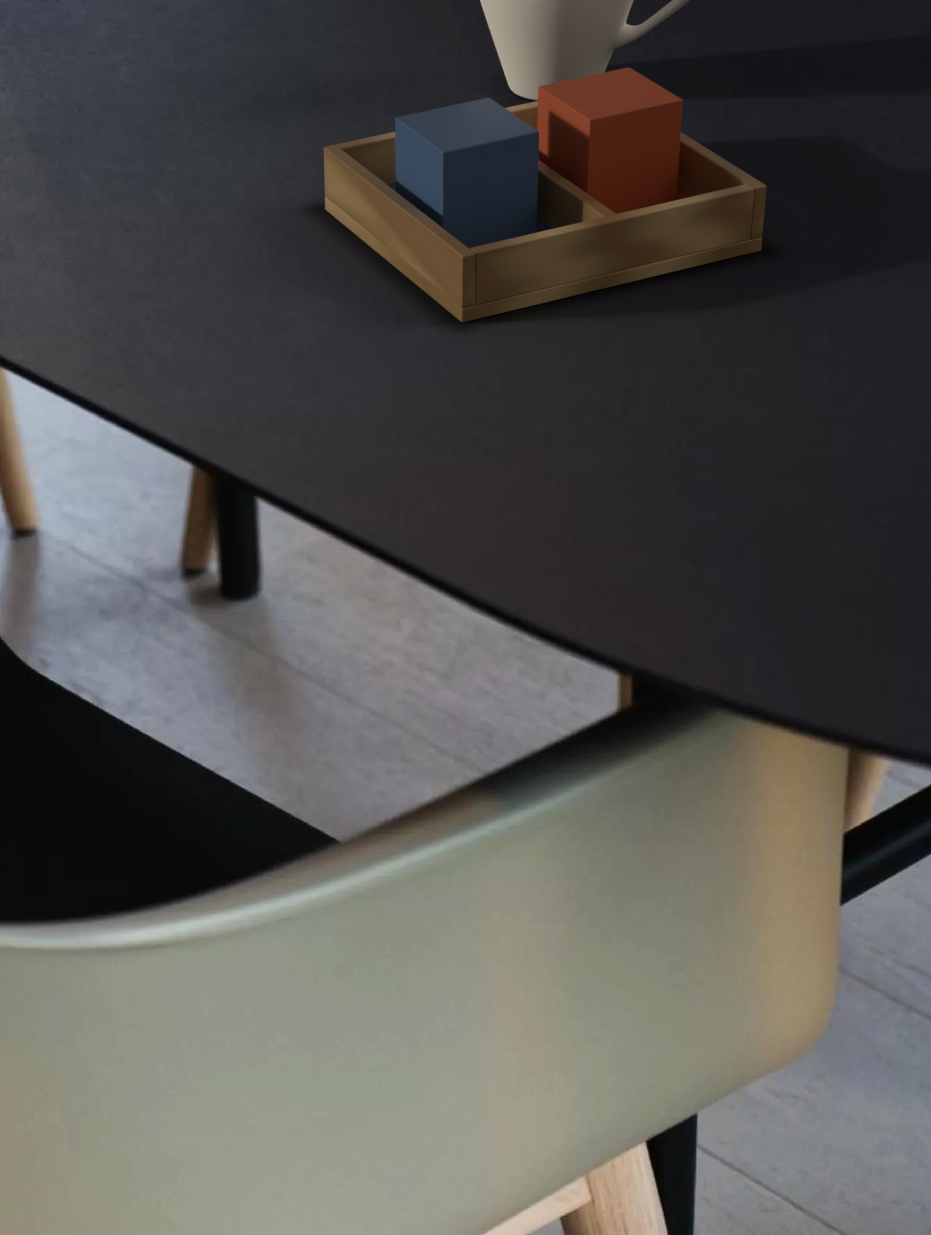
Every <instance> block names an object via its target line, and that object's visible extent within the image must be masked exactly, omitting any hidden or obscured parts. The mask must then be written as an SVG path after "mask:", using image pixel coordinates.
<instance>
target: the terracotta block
mask: <svg viewBox="0 0 931 1235" xmlns="http://www.w3.org/2000/svg"><path fill="white" fill-rule="evenodd" d="M537 101H538V120H537V130H538V131H539V157H538V160H540V161H541V162H542V163H544V164H545V165H547V166H548V167H550V168H551V169H552V170H554V171H555V172H557V173H558V174H560V175H561V176H563V177H564V178H565V179H567V180H568V181H570V182H571V183H573V184H574V185H576V186H577V187H578V188H580V189H581V190H583V191H584V192H586V193H587V194H588V195H590V196H591V197H593V198H594V199H596V200H597V201H599V202H600V203H601V204H603V205H604V206H606V207H607V208H609V209H610V210H612V211H613V212H614V213H616V214H619V213H623V212H628V211H632V210H636V209H641V208H645V207H649V206H654V205H658V204H662V203H667V202H671V201H675V200H676V195H677V180H678V165H679V150H680V135H681V132H682V119H683V104H684V100H683V99H682V98H681V97H679V96H677V95H676V94H675V93H672V92H671V91H669V90H668V89H666V88H664V87H663V86H660V85H659V84H657V83H656V82H654V81H653V80H651V79H650V78H648V77H646V76H644V75H643V74H641V73H640V72H637V71H636V70H634V69H633V68H631V67H629V66H628V67H624V68H618V69H614V70H609V71H605V72H604V73H600V74H595V75H590V76H586V77H581V78H576V79H571V80H567V81H562V82H557V83H553V84H548V85H543V86H539V87H538V100H537Z"/></svg>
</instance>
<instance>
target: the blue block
mask: <svg viewBox="0 0 931 1235" xmlns="http://www.w3.org/2000/svg"><path fill="white" fill-rule="evenodd" d="M505 108H506V107H504V106H502V105H500V104H499V103H498V102H496V101H495V100H493V99H492V98H490V97H484V98H480V99H476V100H470V101H466V102H460V103H456V104H452V105H448V106H443V107H438V108H433V109H429V110H428V109H427V110H424V111H419V112H414V113H410V114H406V115H400V116H396V117H395V118H394V122H395V123H394V125H395V126H394V128H395V129H394V132H395V151H396V192H397V193H398V194H400V195H401V196H402V197H403V198H405V199H406V200H407V201H409V202H410V203H411V204H412V205H414V206H415V207H416V208H418V209H419V210H420V211H421V212H423V213H424V214H425V215H427V216H428V217H429V218H430V219H432V220H433V221H434V222H436V223H437V224H438V225H439V226H441V227H442V228H443V229H445V230H446V231H447V232H448V233H450V234H451V235H452V236H454V237H455V238H456V239H457V240H459V241H460V242H461V243H463V244H464V245H465V246H466V247H468V248H469V249H470V248H472V247H477V246H481V245H485V244H490V243H494V242H498V241H503V240H507V239H511V238H516V237H520V236H524V235H528V234H533V233H536V224H537V190H538V157H539V131H538V130H536V129H535V128H533V127H532V126H530V125H529V124H527V123H526V122H524V121H523V120H521V119H520V118H518V117H517V116H515V115H514V114H513V113H511V112H510V111H508V110H507V109H505Z"/></svg>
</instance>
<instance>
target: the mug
mask: <svg viewBox="0 0 931 1235" xmlns="http://www.w3.org/2000/svg"><path fill="white" fill-rule="evenodd" d="M479 1H480V5H481V8H482V11H483V13H484V16H485V20H486V23H487V27H488V29H489V32H490V35H491V38H492V41H493V44H494V47H495V50H496V52H497V56H498V59H499V61H500V65H501V67H502V70H503V74H504V76H505V79H506V82H507V85H508V88H509V89H510V90H511V92H512V93H513V94H515V95H517V96H518V97H521V98H524V99H528V100H532V101H538V87H539V86H543V85H548V84H553V83H557V82H562V81H567V80H571V79H576V78H581V77H586V76H590V75H595V74H600V73H604V72H606V69H607V67H608V65H609V63H610V60H611V57H612V56H613V54H614V51H615V50H616V49H618V48H621V47H623V46H627V45H628V44H630V43H633V42H634V41H637V40H638V39H639V38H641V37H643V36H644V35H646V34H647V33H649V32H650V31H651V30H653V29H654V28H655V27H657V26H658V25H660V24H661V23H662V22H664V21H665V20H667V19H668V18H670V16H672V15H674V14H675V13H677V11H678V10H680V9H681V8H682V7H684V6H685V5H686V4H687V3H688V2H690V0H671V1H670V2H669V1H668V3H666V4H665V5H664V6H663V7H661V8H660V9H659V10H657V12H655V13H654V14H653V15H652V16H650V17H649V18H648V19H646V20H645V21H643V22H642V23H640V24H637V25H632V24H628V23H627V20H628V16H629V14H630V11H631V9H632V6H633V3H634V0H479Z"/></svg>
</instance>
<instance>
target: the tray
mask: <svg viewBox="0 0 931 1235" xmlns="http://www.w3.org/2000/svg"><path fill="white" fill-rule="evenodd" d="M504 108H505V109H507V110H508V111H510V112H511V113H513V114H514V115H515V116H517V117H518V118H520V119H521V120H523V121H524V122H526V123H527V124H529V125H530V126H532V127H533V128H535V129H536V130H537V120H538V100H534V101H532V102H531V101H530V102H527V103H522V104H517V105H513V106H508V107H504ZM323 168H324V169H323V170H324V171H323V174H324V175H323V176H324V196H325V197H324V209H325V211H326V212H327V213H329V214H330V215H331V216H333V217H334V219H336V220H337V221H338V222H339V223H341V225H343V226H344V227H345V228H347V229H348V230H349V231H350V232H352V233H353V234H354V235H355V236H356V237H358V238H359V239H360V240H361V241H362V242H364V243H365V244H366V245H367V246H368V247H370V248H371V249H372V250H373V251H374V252H376V253H377V254H378V255H379V256H381V257H382V258H383V259H384V260H386V261H387V262H388V263H389V264H391V266H393V267H394V268H395V269H396V270H398V271H399V272H400V273H401V274H402V275H404V276H405V277H406V278H407V279H409V280H410V281H411V282H412V283H413V284H414V285H416V286H417V287H418V288H419V289H421V290H422V291H423V292H424V293H425V294H426V295H428V296H429V297H430V298H432V299H433V300H434V301H435V302H437V304H438V305H440V306H441V307H443V308H444V309H445V310H446V311H447V312H448V313H450V314H451V315H452V316H453V317H455V318H456V319H457V321H459V322H461V323H466V322H471V321H476V320H480V319H483V318H487V317H491V316H496V315H499V314H504V313H508V312H512V311H513V312H514V311H516V310H521V309H525V308H529V307H534V306H537V305H542V304H545V303H549V302H554V301H558V300H562V299H566V298H570V297H574V296H578V295H583V294H587V293H591V292H594V291H599V290H603V289H607V288H608V289H609V288H612V287H616V286H620V285H624V284H629V283H633V282H636V281H637V282H638V281H641V280H646V279H650V278H654V277H658V276H662V275H666V274H670V273H674V272H675V273H676V272H678V271H682V270H687V269H691V268H695V267H699V266H703V265H707V264H711V263H716V262H720V261H725V260H728V259H732V258H736V257H740V256H745V255H748V254H753V253H757V252H761V251H762V246H763V232H764V220H765V209H766V200H767V199H766V198H767V189H768V188H767V185H766V184H765V183H763V182H761V181H760V180H758V179H757V178H756V177H754V176H752V175H751V174H749V173H748V172H746V171H744V170H742V169H741V168H739V167H738V166H736V165H735V164H733V163H731V162H729V161H728V160H727V159H725V158H723V157H721V156H720V155H718V154H717V153H715V152H713V151H712V150H710V149H709V148H707V147H706V146H704V145H702V144H701V143H699V142H698V141H696V140H695V139H693V138H691V137H690V136H688V135H687V134H685V133H683V132H682V131H681V135H680V150H679V165H678V180H677V195H676V200H675V201H671V202H667V203H662V204H658V205H654V206H649V207H645V208H641V209H636V210H632V211H628V212H623V213H619V214H616V213H614V212H613V211H612V210H610V209H609V208H607V207H606V206H604V205H603V204H601V203H600V202H599V201H597V200H596V199H594V198H593V197H591V196H590V195H588V194H587V193H586V192H584V191H583V190H581V189H580V188H578V187H577V186H576V185H574V184H573V183H571V182H570V181H568V180H567V179H565V178H564V177H563V176H561V175H560V174H558V173H557V172H555V171H554V170H552V169H551V168H550V167H548V166H547V165H545V164H544V163H542V162H541V161H540V160H538V190H537V224H536V233H533V234H528V235H524V236H520V237H516V238H511V239H507V240H503V241H498V242H494V243H490V244H485V245H481V246H477V247H472V248H470V249H469V248H468V247H466V246H465V245H464V244H463V243H461V242H460V241H459V240H457V239H456V238H455V237H454V236H452V235H451V234H450V233H448V232H447V231H446V230H445V229H443V228H442V227H441V226H439V225H438V224H437V223H436V222H434V221H433V220H432V219H430V218H429V217H428V216H427V215H425V214H424V213H423V212H421V211H420V210H419V209H418V208H416V207H415V206H414V205H412V204H411V203H410V202H409V201H407V200H406V199H405V198H403V197H402V196H401V195H400V194H398V193H397V192H396V151H395V131H392V132H391V131H390V132H387V133H383V134H377V135H373V136H369V137H368V136H367V137H364V138H359V139H354V140H350V141H345V142H340V143H336V144H331V145H327V146H324V147H323Z"/></svg>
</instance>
